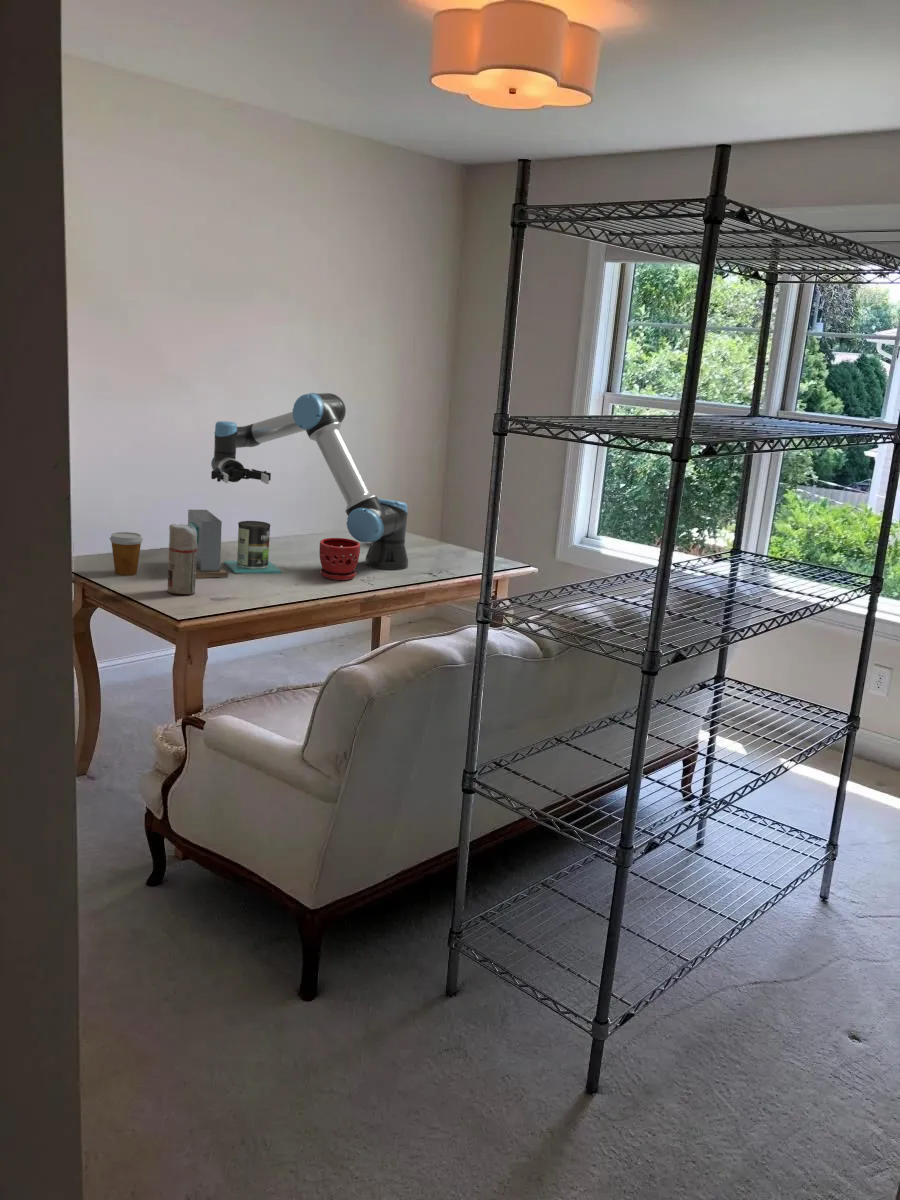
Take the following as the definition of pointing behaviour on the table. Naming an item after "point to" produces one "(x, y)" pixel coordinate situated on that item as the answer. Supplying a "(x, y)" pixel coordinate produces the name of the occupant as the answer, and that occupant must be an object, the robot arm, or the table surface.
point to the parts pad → (237, 569)
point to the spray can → (182, 559)
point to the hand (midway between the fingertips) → (247, 479)
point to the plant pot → (339, 558)
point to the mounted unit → (207, 543)
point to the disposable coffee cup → (126, 552)
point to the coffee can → (253, 544)
